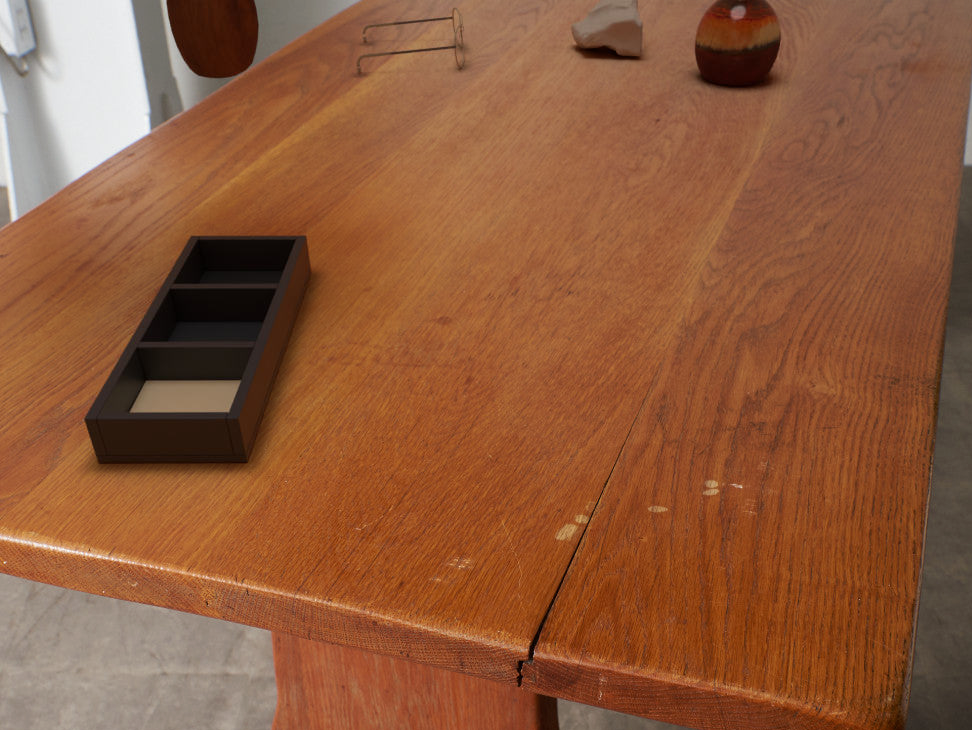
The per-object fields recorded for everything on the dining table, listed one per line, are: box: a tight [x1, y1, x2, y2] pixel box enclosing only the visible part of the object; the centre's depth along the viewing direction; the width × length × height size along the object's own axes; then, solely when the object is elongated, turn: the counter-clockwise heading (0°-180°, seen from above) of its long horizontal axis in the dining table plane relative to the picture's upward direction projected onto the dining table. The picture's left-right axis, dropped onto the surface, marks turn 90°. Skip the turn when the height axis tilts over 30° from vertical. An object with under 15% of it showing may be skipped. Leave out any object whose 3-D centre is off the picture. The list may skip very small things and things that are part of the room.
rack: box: [83, 234, 312, 464], centre depth 78 cm, size 10×29×4 cm, turn 0°
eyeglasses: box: [356, 7, 465, 74], centre depth 143 cm, size 16×15×5 cm
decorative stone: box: [571, 0, 644, 57], centre depth 144 cm, size 11×9×10 cm
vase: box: [694, 0, 782, 87], centre depth 131 cm, size 11×11×15 cm
